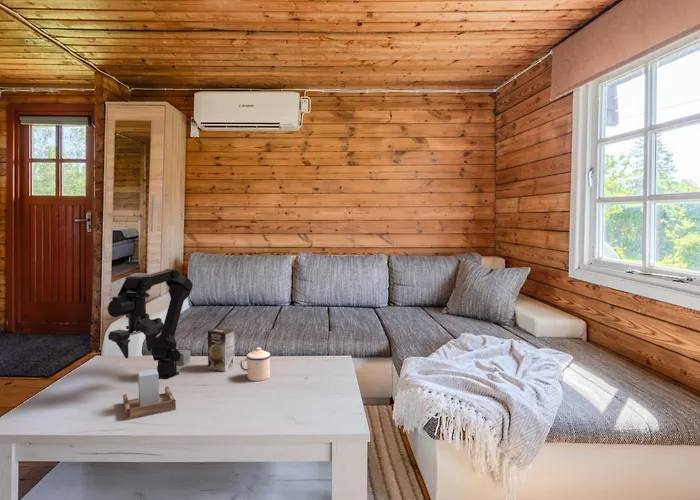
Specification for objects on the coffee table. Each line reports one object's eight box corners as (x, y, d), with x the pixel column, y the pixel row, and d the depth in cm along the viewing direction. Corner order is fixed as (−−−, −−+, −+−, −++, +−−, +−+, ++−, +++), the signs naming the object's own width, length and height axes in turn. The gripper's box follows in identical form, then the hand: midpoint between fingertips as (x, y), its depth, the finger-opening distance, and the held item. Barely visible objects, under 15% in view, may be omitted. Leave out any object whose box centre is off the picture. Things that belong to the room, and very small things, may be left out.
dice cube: (179, 361, 187) (179, 349, 187) (190, 361, 186) (190, 350, 186) (173, 364, 183) (172, 353, 182) (183, 365, 182) (183, 354, 181)
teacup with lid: (272, 373, 173) (272, 344, 172) (267, 381, 164) (267, 351, 163) (243, 372, 173) (242, 344, 172) (236, 381, 164) (236, 351, 163)
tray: (123, 403, 144) (123, 394, 143) (168, 394, 151) (168, 386, 151) (127, 419, 132) (126, 410, 132) (175, 409, 139) (175, 400, 139)
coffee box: (207, 369, 177) (206, 330, 176) (217, 364, 183) (217, 326, 182) (225, 372, 174) (224, 332, 173) (235, 367, 180) (234, 329, 179)
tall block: (138, 403, 142) (138, 372, 141) (157, 399, 145) (156, 369, 144) (140, 408, 138) (139, 376, 137) (159, 405, 141) (158, 373, 140)
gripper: (128, 319, 141) (130, 365, 142) (174, 308, 158) (175, 350, 159) (106, 315, 146) (108, 360, 147) (153, 306, 163) (154, 346, 164)
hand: (138, 354), depth 154 cm, fingers open, 9 cm apart
